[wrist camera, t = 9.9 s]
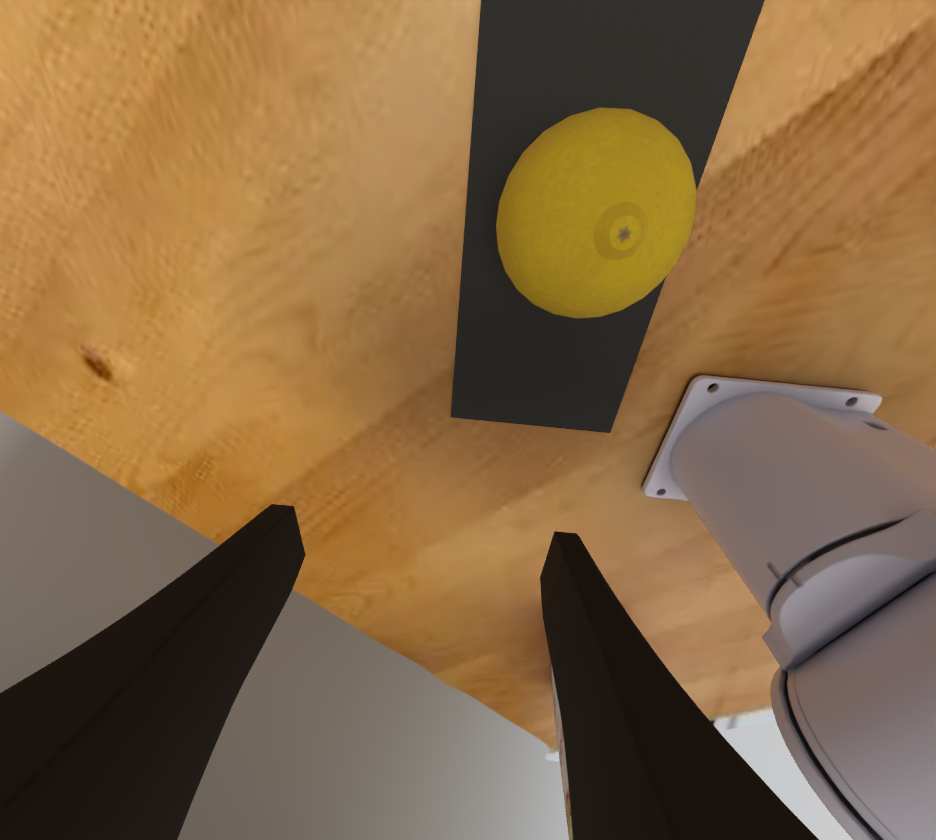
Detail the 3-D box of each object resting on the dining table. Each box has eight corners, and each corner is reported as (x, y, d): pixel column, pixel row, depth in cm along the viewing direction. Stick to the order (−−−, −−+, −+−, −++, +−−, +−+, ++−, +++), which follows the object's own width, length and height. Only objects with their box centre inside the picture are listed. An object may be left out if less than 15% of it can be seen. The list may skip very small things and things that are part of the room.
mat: (828, -183, 10) (831, -187, 9) (609, 432, 20) (610, 432, 20) (497, -220, 10) (497, -224, 9) (451, 416, 20) (451, 417, 20)
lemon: (500, 132, 13) (514, 54, 6) (648, 139, 13) (823, 69, 6) (489, 287, 16) (491, 346, 9) (610, 293, 16) (703, 359, 9)
